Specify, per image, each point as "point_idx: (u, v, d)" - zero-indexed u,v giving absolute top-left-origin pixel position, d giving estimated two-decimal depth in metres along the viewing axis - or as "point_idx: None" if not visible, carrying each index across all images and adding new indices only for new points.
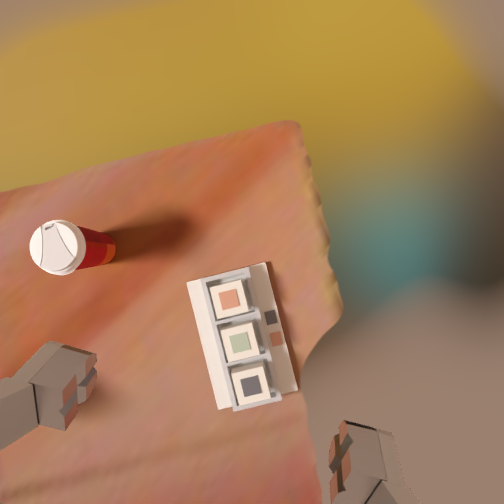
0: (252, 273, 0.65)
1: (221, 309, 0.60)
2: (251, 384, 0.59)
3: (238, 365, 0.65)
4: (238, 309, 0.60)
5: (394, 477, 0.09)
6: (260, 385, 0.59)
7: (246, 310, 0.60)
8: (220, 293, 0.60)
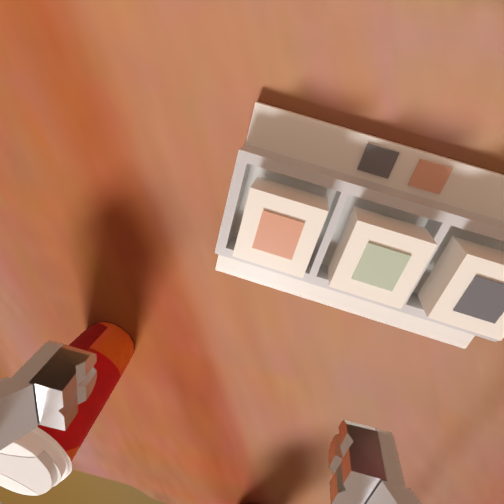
0: (263, 144, 0.27)
1: (289, 259, 0.26)
2: (483, 297, 0.24)
3: None
4: (310, 229, 0.24)
5: (394, 477, 0.09)
6: (502, 282, 0.24)
7: (323, 214, 0.24)
8: (254, 243, 0.26)
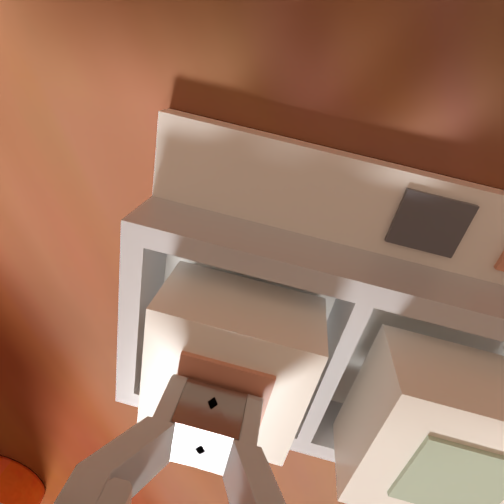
0: (188, 197, 0.13)
1: None
2: None
3: None
4: (291, 388, 0.11)
5: (248, 437, 0.09)
6: None
7: (317, 363, 0.10)
8: None
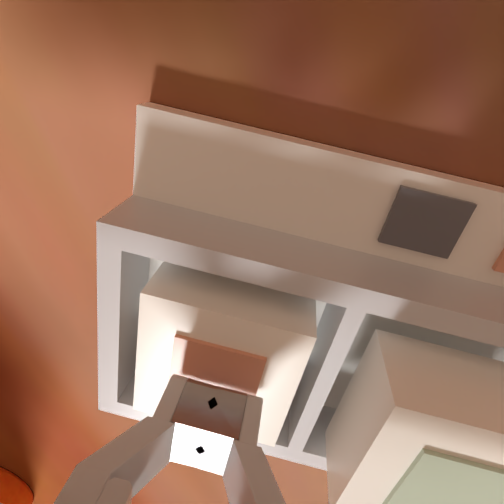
0: (171, 196, 0.13)
1: None
2: None
3: None
4: (281, 369, 0.11)
5: (248, 437, 0.09)
6: None
7: (306, 343, 0.11)
8: None
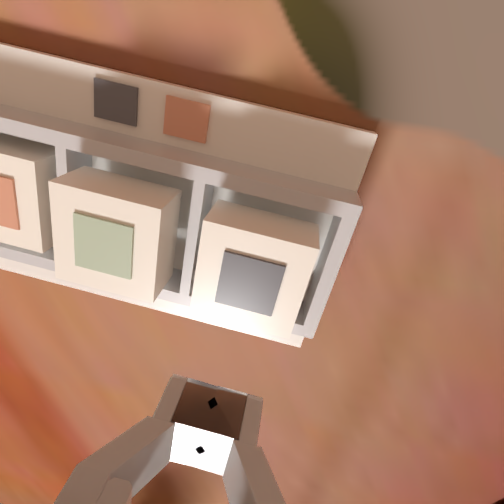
0: None
1: (17, 230, 0.20)
2: (244, 280, 0.17)
3: None
4: (24, 187, 0.19)
5: (248, 437, 0.09)
6: (261, 258, 0.17)
7: (31, 167, 0.18)
8: None
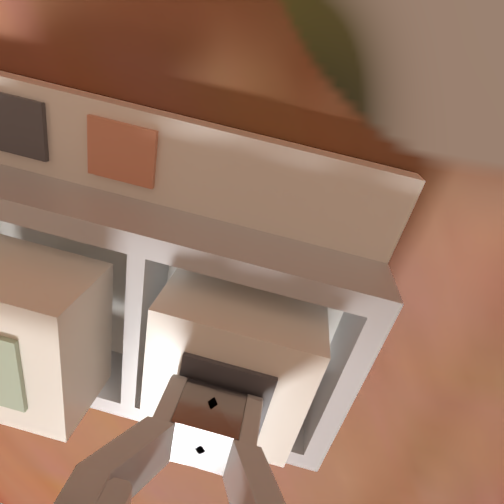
0: None
1: None
2: None
3: None
4: None
5: (248, 437, 0.09)
6: (239, 366, 0.11)
7: None
8: None
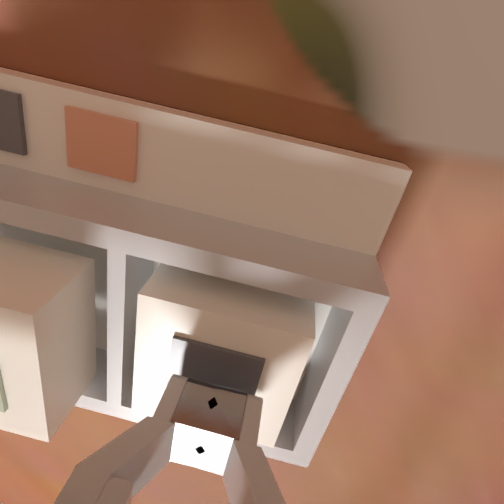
0: None
1: None
2: (204, 376, 0.12)
3: None
4: None
5: (248, 437, 0.09)
6: (227, 348, 0.11)
7: None
8: None
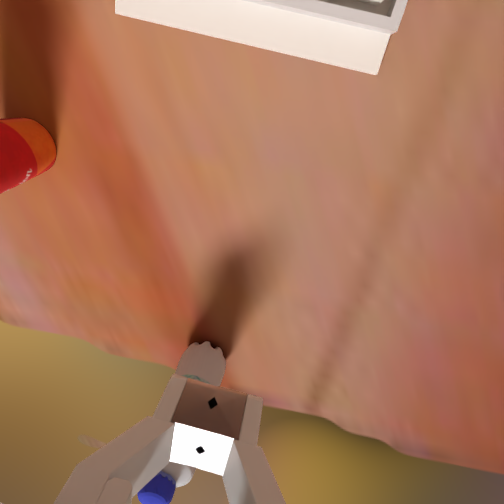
0: None
1: None
2: None
3: None
4: None
5: (247, 437, 0.09)
6: None
7: None
8: None
